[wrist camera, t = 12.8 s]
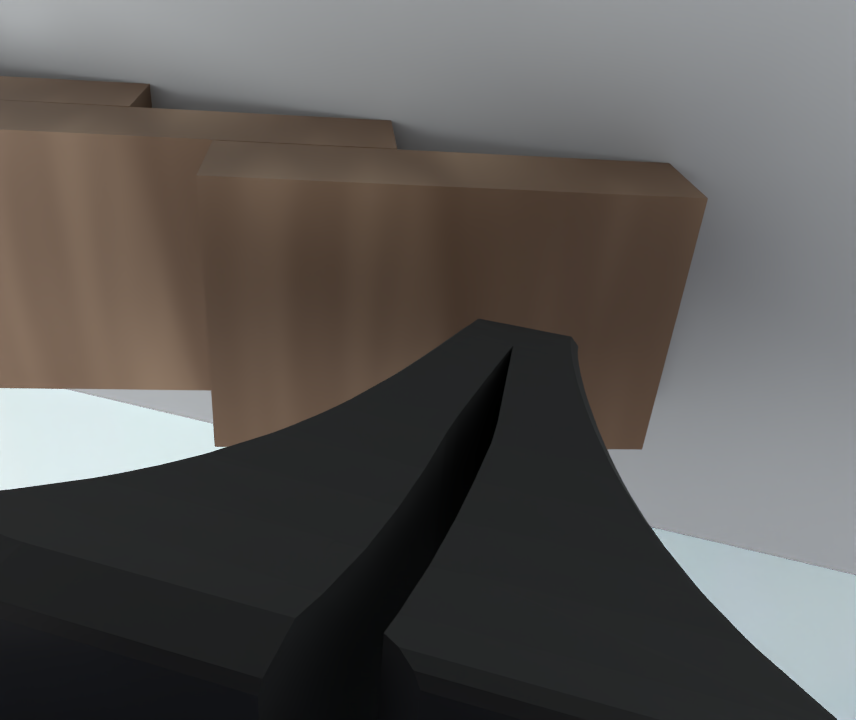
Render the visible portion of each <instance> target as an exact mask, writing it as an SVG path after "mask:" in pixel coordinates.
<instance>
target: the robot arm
mask: <svg viewBox="0 0 856 720" xmlns="http://www.w3.org/2000/svg"><path fill="white" fill-rule="evenodd" d="M0 720H837V719H836V718H835V717H834V716H833V715H832V714H830V713H829V712H828V711H827V710H826V709H825V708H824V707H822V706H821V705H820V704H819V703H818V702H817V701H816V700H815V699H813V698H812V697H811V696H810V695H809V694H808V693H807V692H805V691H804V690H803V689H802V688H801V687H800V686H799V685H797V684H796V683H795V682H794V681H793V680H792V679H791V678H789V677H788V676H787V675H786V674H785V673H784V672H783V671H782V670H780V669H779V668H778V667H777V666H776V665H775V664H774V663H772V662H771V661H770V660H769V659H768V658H767V657H766V656H764V655H763V654H762V653H761V652H760V651H759V650H758V649H756V648H755V647H754V646H753V645H752V644H751V643H750V642H749V641H748V640H747V639H746V638H745V637H744V636H743V635H742V634H741V633H740V632H739V631H738V630H737V629H736V628H735V627H734V626H733V625H732V624H731V622H730V621H729V620H728V619H727V618H726V617H725V616H724V615H723V614H722V613H721V612H720V611H719V610H718V609H717V608H716V607H715V606H714V605H713V604H712V603H711V602H710V601H709V600H708V599H707V598H706V596H705V595H704V594H703V593H702V592H701V591H700V590H699V588H698V587H697V586H696V585H695V584H694V583H693V581H692V580H691V579H690V578H689V576H688V575H687V574H686V573H685V571H684V570H683V569H682V568H681V567H680V565H679V564H678V563H677V562H676V560H675V559H674V558H673V557H672V555H671V554H670V553H669V552H668V550H667V549H666V548H665V547H664V545H663V544H662V543H661V541H660V540H659V538H658V537H657V535H656V534H655V532H654V531H653V530H652V528H651V527H650V525H649V524H648V522H647V521H646V519H645V518H644V516H643V514H642V513H641V511H640V510H639V508H638V506H637V505H636V503H635V502H634V500H633V498H632V497H631V495H630V493H629V491H628V490H627V488H626V486H625V484H624V482H623V481H622V479H621V477H620V475H619V473H618V471H617V469H616V467H615V465H614V463H613V461H612V459H611V457H610V454H609V452H608V450H607V448H606V446H605V444H604V441H603V439H602V437H601V434H600V432H599V429H598V427H597V424H596V421H595V419H594V416H593V413H592V410H591V407H590V405H589V402H588V399H587V396H586V392H585V389H584V385H583V381H582V377H581V373H580V368H579V362H578V345H577V344H576V342H575V341H574V339H573V338H572V337H571V336H566V335H561V334H556V333H551V332H545V331H540V330H535V329H530V328H525V327H520V326H515V325H510V324H504V323H499V322H494V321H489V320H484V319H477V320H476V321H474V322H473V323H471V324H470V325H468V326H467V327H465V328H463V329H462V330H460V331H459V332H458V333H456V334H455V335H453V336H452V337H450V338H449V339H448V340H446V341H445V342H443V343H442V344H440V345H439V346H437V347H436V348H435V349H433V350H432V351H430V352H429V353H427V354H426V355H424V356H423V357H421V358H420V359H418V360H417V361H415V362H413V363H412V364H410V365H409V366H407V367H406V368H404V369H403V370H401V371H399V372H398V373H396V374H395V375H393V376H391V377H390V378H388V379H386V380H384V381H382V382H381V383H379V384H377V385H375V386H373V387H372V388H370V389H368V390H366V391H364V392H363V393H361V394H359V395H357V396H355V397H354V398H352V399H350V400H348V401H346V402H344V403H342V404H340V405H338V406H336V407H333V408H331V409H329V410H327V411H325V412H323V413H320V414H318V415H316V416H313V417H311V418H308V419H306V420H303V421H301V422H299V423H296V424H294V425H291V426H289V427H286V428H284V429H281V430H278V431H276V432H273V433H270V434H267V435H264V436H260V437H257V438H254V439H251V440H248V441H245V442H241V443H238V444H235V445H232V446H229V447H226V448H223V449H219V450H216V451H213V452H210V453H207V454H203V455H199V456H195V457H191V458H187V459H183V460H179V461H175V462H171V463H167V464H163V465H158V466H153V467H148V468H143V469H139V470H134V471H129V472H124V473H119V474H113V475H108V476H102V477H97V478H90V479H83V480H76V481H69V482H61V483H54V484H47V485H40V486H33V487H25V488H18V489H11V490H1V491H0Z"/></svg>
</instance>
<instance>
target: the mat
mask: <svg viewBox="0 0 856 720" xmlns="http://www.w3.org/2000/svg"><path fill="white" fill-rule="evenodd" d="M0 76H10V77H29V78H48V79H67V80H87V81H106V82H125V83H144V84H150V92H151V102H152V108H162V109H181V110H201V111H220V112H239V113H258V114H277V115H296V116H315V117H334V118H353V119H372V120H391V122H392V126H393V131H394V136H395V141H396V145H397V149H399V150H419V151H439V152H459V153H480V154H500V155H520V156H540V157H560V158H580V159H600V160H620V161H640V162H660V163H670V164H671V165H672V166H673V167H674V168H675V169H676V170H677V171H679V172H680V173H681V174H682V175H683V176H684V177H685V178H686V179H687V180H688V181H690V182H691V183H692V184H693V185H694V186H695V187H696V188H697V189H698V190H699V191H701V192H702V193H703V194H704V195H705V196H706V197H707V198H708V200H707V204H706V208H705V212H704V216H703V219H702V223H701V227H700V231H699V235H698V239H697V242H696V246H695V250H694V254H693V258H692V261H691V265H690V269H689V273H688V277H687V280H686V284H685V288H684V292H683V296H682V299H681V303H680V307H679V311H678V315H677V319H676V322H675V326H674V330H673V334H672V338H671V341H670V345H669V349H668V353H667V357H666V360H665V364H664V368H663V372H662V376H661V379H660V383H659V387H658V391H657V395H656V398H655V402H654V406H653V410H652V414H651V418H650V421H649V425H648V429H647V433H646V437H645V440H644V444H643V448H642V450H639V449H607V450H608V452H609V454H610V457H611V459H612V461H613V463H614V465H615V467H616V469H617V471H618V473H619V475H620V477H621V479H622V481H623V482H624V484H625V486H626V488H627V490H628V491H629V493H630V495H631V497H632V498H633V500H634V502H635V503H636V505H637V506H638V508H639V510H640V511H641V513H642V514H643V516H644V518H645V519H646V521H647V522H648V524H649V525H650V527H654V528H658V529H663V530H667V531H671V532H675V533H680V534H684V535H688V536H692V537H697V538H701V539H705V540H709V541H714V542H718V543H722V544H726V545H731V546H735V547H739V548H743V549H748V550H752V551H756V552H760V553H765V554H769V555H773V556H777V557H782V558H786V559H790V560H794V561H799V562H803V563H807V564H811V565H816V566H820V567H824V568H828V569H832V570H837V571H841V572H845V573H849V574H854V575H856V0H0ZM68 390H72V391H77V392H81V393H85V394H89V395H94V396H98V397H102V398H106V399H110V400H115V401H119V402H123V403H127V404H132V405H136V406H140V407H144V408H149V409H153V410H157V411H161V412H166V413H170V414H174V415H178V416H183V417H187V418H191V419H195V420H200V421H204V422H208V423H212V424H213V412H212V397H211V391H207V390H127V389H68Z"/></svg>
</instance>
